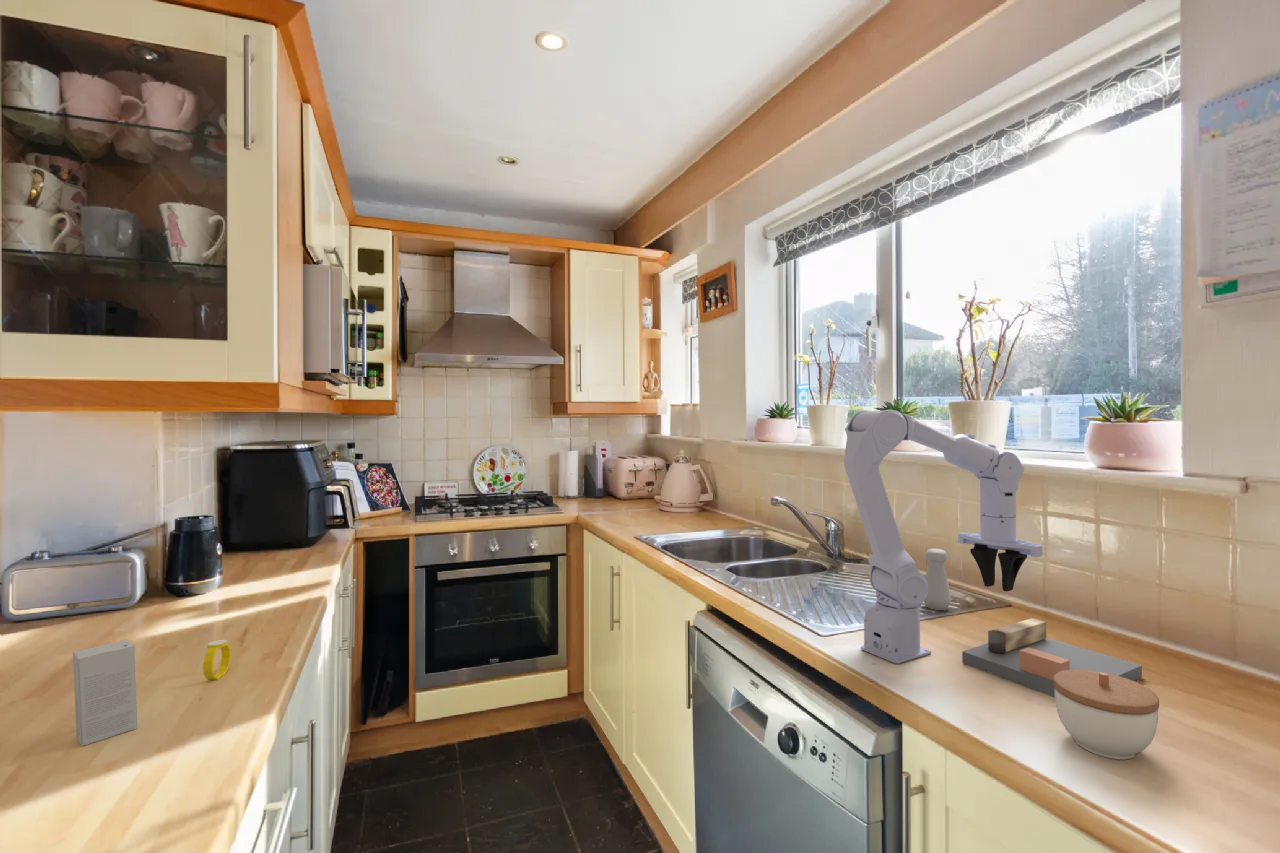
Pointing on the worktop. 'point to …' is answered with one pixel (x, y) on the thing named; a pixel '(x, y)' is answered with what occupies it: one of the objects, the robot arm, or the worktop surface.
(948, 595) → the salt shaker
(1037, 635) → the stool leg
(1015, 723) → the worktop surface
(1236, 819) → the worktop surface
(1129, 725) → the lidded jar
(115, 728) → the skincare box
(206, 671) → the watch
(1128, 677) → the stool seat
